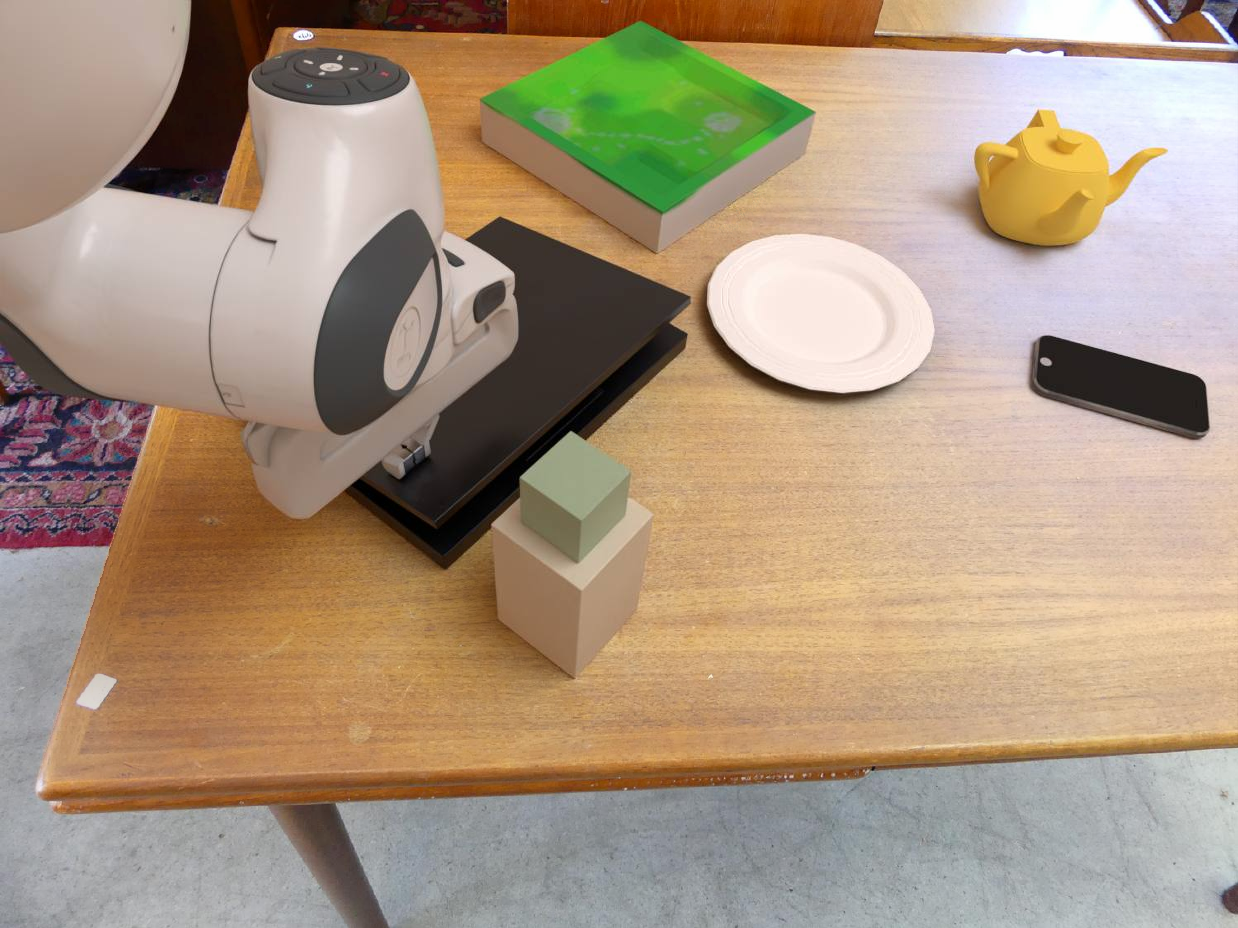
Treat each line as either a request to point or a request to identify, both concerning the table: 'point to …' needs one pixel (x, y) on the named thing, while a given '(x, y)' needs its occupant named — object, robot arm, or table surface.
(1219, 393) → the table surface
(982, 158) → the teapot
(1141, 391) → the smartphone
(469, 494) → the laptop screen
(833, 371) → the plate
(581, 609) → the stand
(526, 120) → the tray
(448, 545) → the laptop
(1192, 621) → the table surface
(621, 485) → the block
